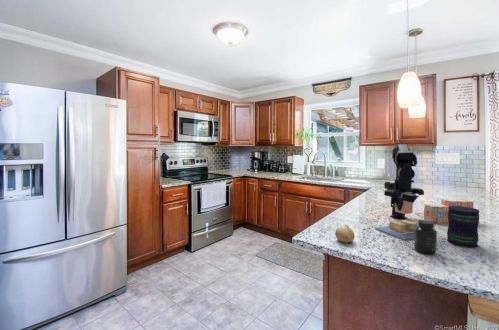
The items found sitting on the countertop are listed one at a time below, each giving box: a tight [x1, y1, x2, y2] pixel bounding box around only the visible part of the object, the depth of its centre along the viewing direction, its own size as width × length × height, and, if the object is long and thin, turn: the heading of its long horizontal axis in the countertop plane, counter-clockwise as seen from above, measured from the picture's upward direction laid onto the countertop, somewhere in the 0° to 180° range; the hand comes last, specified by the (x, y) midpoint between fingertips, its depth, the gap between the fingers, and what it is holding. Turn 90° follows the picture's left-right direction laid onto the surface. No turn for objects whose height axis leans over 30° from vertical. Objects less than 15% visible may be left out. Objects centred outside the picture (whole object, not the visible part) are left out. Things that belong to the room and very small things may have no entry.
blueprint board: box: [374, 225, 415, 241], centre depth 113 cm, size 18×16×1 cm
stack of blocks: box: [423, 198, 475, 224], centre depth 129 cm, size 21×6×12 cm, turn 86°
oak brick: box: [388, 219, 418, 234], centre depth 113 cm, size 10×6×4 cm, turn 105°
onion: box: [334, 224, 356, 244], centre depth 102 cm, size 8×8×7 cm
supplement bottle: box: [413, 219, 438, 256], centre depth 91 cm, size 7×7×12 cm
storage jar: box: [446, 206, 480, 249], centre depth 99 cm, size 10×10×15 cm
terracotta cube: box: [395, 201, 414, 215], centre depth 112 cm, size 5×5×5 cm
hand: (403, 210), depth 112 cm, fingers closed on terracotta cube, 5 cm apart
